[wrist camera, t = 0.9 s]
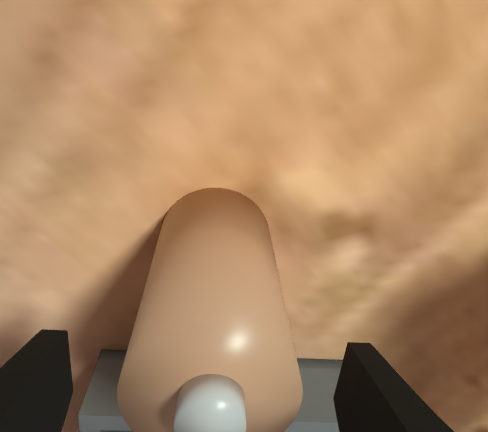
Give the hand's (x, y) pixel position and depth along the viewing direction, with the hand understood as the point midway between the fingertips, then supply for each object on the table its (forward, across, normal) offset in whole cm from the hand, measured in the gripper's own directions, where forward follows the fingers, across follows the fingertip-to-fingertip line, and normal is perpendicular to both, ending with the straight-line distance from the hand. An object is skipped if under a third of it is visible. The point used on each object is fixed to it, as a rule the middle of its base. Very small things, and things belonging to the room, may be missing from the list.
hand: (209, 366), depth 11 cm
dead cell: (+7, 0, 0) cm, 7 cm away
